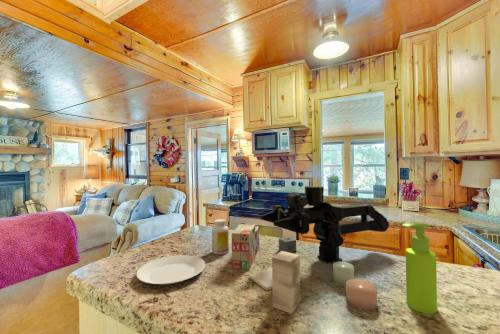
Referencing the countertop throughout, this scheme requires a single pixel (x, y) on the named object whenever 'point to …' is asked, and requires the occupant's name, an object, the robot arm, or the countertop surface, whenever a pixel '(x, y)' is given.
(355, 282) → the pink soap bar
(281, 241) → the dice cube
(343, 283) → the sage jar
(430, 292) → the soap dispenser
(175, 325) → the countertop surface
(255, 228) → the stack of blocks
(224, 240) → the supplement bottle
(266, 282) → the tile
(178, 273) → the plate
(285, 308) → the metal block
